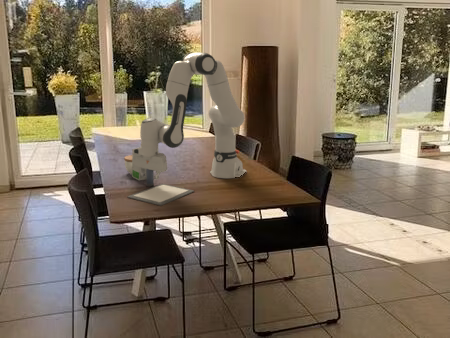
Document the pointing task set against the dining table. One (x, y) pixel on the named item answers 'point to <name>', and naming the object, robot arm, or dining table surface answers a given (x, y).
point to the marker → (149, 177)
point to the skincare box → (137, 172)
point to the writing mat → (160, 194)
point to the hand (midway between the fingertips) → (149, 177)
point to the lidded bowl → (128, 163)
